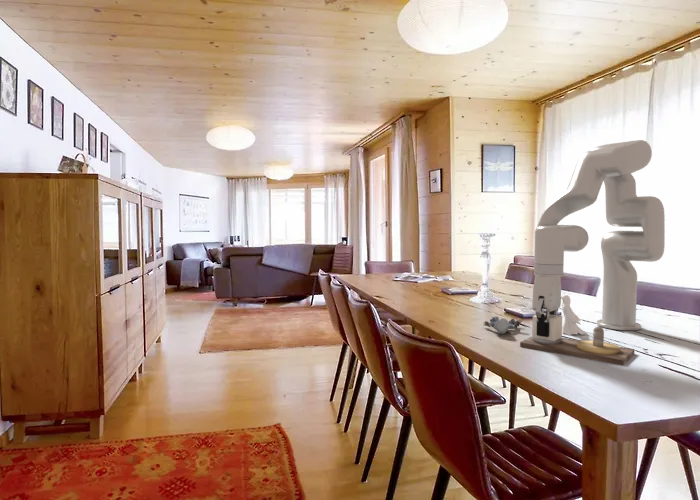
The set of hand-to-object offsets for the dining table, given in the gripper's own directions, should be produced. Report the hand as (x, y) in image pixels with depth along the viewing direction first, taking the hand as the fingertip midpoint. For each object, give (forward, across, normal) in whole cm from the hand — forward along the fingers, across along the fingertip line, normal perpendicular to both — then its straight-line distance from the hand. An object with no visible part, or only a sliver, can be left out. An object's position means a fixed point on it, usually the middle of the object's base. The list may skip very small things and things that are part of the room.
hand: (547, 333), depth 127 cm
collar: (+1, 0, 0) cm, 1 cm away
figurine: (+4, -19, +2) cm, 19 cm away
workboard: (+3, 0, +8) cm, 8 cm away
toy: (+4, -8, -16) cm, 18 cm away
